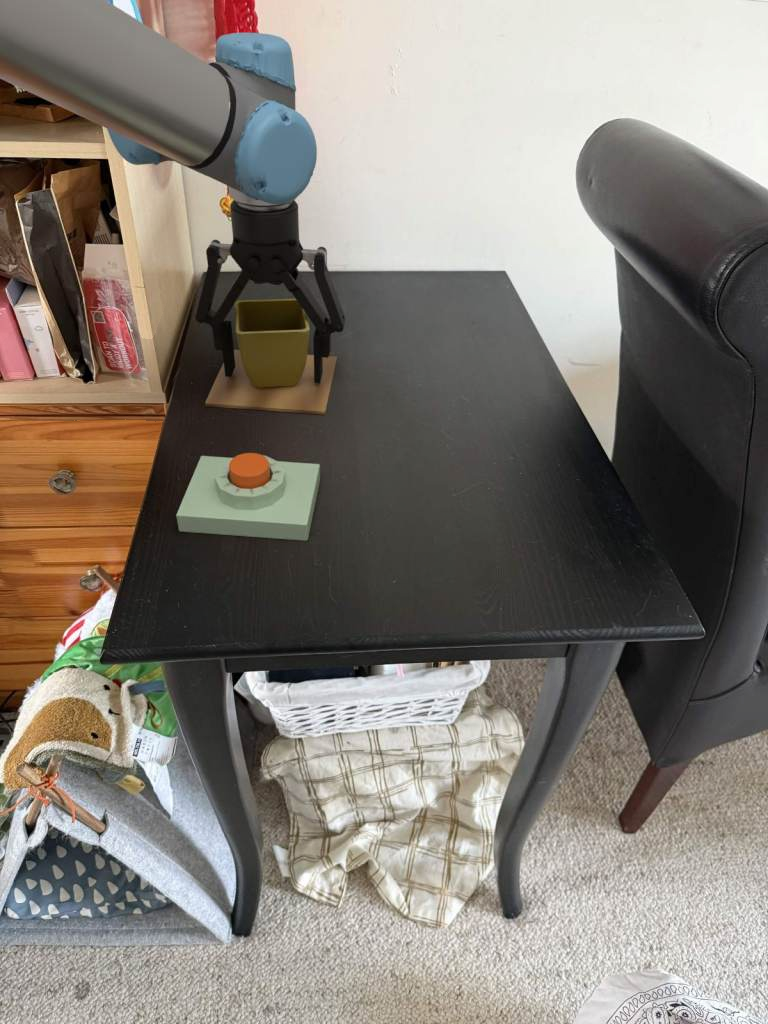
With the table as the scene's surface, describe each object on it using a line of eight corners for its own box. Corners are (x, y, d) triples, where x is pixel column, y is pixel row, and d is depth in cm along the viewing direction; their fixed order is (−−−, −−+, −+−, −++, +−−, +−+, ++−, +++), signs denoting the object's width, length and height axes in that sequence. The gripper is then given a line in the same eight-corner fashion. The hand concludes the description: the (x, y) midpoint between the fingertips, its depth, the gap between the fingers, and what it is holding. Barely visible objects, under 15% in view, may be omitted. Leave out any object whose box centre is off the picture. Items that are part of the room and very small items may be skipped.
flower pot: (311, 394, 93) (310, 329, 87) (242, 398, 92) (235, 332, 86) (305, 360, 100) (303, 297, 94) (240, 363, 98) (234, 300, 92)
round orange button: (226, 488, 73) (224, 474, 72) (235, 464, 76) (233, 451, 75) (266, 491, 73) (265, 477, 72) (273, 467, 76) (272, 453, 75)
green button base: (178, 531, 73) (173, 501, 71) (203, 471, 81) (199, 441, 78) (307, 541, 73) (306, 510, 70) (320, 479, 81) (319, 450, 78)
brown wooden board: (205, 406, 91) (204, 403, 90) (229, 352, 101) (229, 349, 101) (325, 414, 90) (325, 411, 90) (337, 359, 101) (337, 356, 101)
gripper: (149, 204, 78) (178, 383, 93) (366, 218, 78) (361, 396, 92) (169, 183, 84) (193, 354, 98) (371, 196, 84) (365, 366, 98)
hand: (274, 374), depth 95 cm, fingers open, 11 cm apart
